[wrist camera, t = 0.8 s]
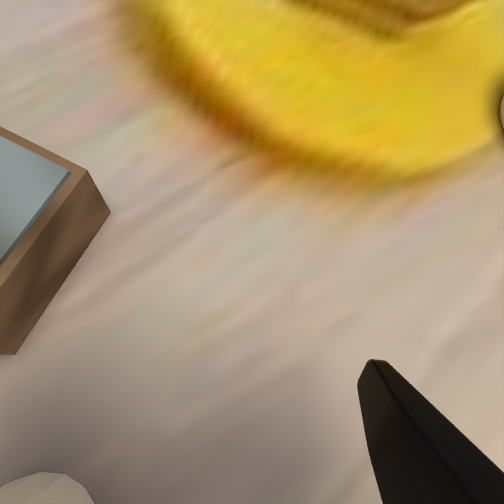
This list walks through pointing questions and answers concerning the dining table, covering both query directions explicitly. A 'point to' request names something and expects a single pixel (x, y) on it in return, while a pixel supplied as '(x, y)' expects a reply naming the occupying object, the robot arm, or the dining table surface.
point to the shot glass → (44, 490)
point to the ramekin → (502, 112)
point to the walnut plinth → (39, 230)
